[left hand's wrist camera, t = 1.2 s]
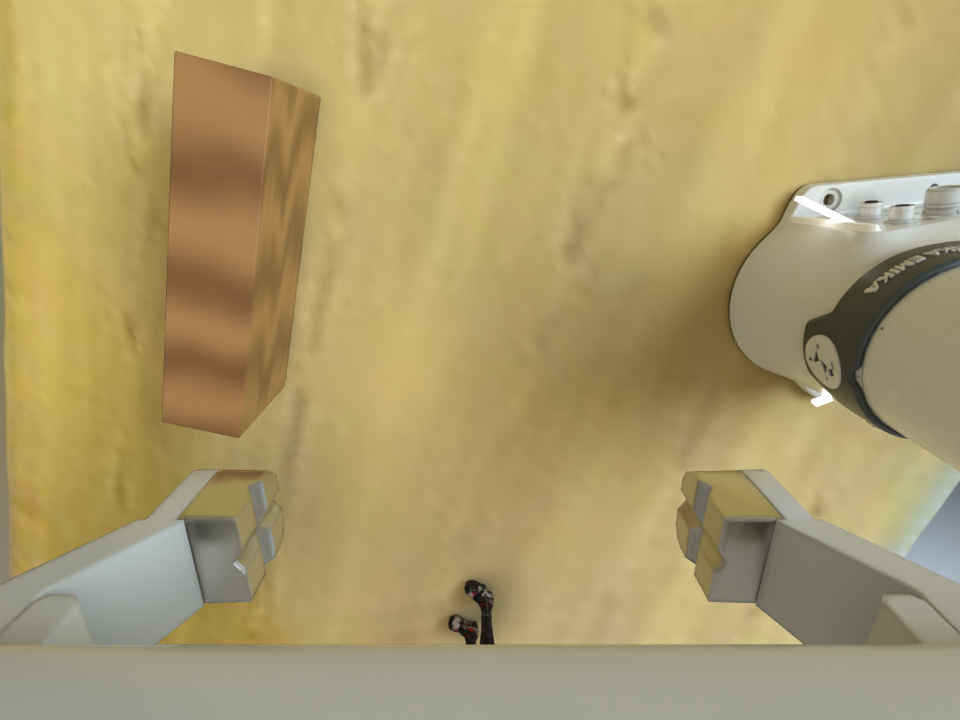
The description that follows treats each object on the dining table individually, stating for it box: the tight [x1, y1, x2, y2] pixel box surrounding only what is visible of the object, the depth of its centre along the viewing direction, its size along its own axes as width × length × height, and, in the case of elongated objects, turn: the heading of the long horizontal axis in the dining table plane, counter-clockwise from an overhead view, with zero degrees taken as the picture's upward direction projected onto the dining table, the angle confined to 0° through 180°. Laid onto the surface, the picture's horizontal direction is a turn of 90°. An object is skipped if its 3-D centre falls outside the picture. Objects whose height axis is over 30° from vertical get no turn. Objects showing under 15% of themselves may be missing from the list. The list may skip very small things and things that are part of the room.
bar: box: [162, 51, 320, 438], centre depth 38 cm, size 24×6×10 cm, turn 166°
